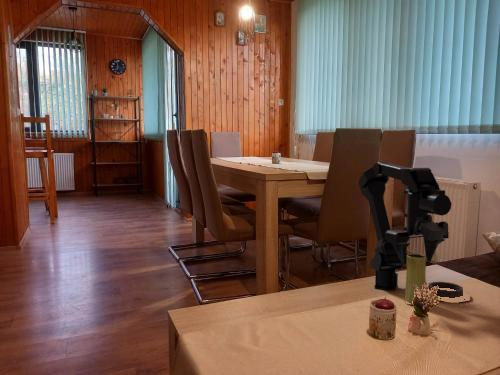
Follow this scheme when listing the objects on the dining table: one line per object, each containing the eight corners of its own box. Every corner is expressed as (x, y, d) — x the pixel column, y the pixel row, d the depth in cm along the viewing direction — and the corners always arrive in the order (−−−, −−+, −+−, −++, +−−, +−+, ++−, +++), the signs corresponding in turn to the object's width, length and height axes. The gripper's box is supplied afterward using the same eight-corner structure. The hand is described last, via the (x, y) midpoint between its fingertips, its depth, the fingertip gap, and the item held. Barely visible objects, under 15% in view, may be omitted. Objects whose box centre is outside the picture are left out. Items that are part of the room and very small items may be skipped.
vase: (400, 300, 125) (401, 253, 124) (418, 298, 126) (419, 252, 125) (412, 307, 119) (412, 258, 118) (431, 305, 120) (432, 257, 119)
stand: (419, 299, 125) (420, 290, 125) (422, 285, 138) (422, 277, 138) (471, 305, 119) (472, 296, 119) (469, 291, 132) (469, 282, 132)
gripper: (411, 216, 109) (410, 274, 111) (465, 212, 116) (463, 266, 117) (384, 211, 120) (383, 263, 121) (434, 207, 126) (433, 257, 127)
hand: (416, 263), depth 121 cm, fingers open, 9 cm apart
